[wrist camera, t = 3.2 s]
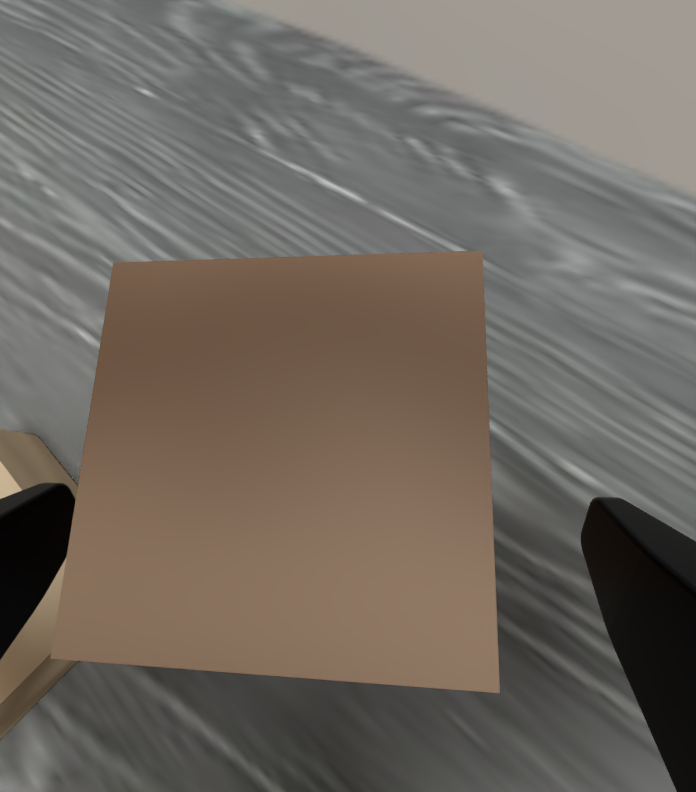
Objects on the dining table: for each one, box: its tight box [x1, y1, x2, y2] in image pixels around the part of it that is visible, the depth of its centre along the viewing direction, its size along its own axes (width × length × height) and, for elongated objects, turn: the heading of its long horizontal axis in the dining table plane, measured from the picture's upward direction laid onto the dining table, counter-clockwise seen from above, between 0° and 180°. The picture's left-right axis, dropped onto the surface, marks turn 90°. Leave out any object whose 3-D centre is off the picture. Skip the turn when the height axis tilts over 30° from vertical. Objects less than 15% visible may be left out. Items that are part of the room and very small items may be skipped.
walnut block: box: [50, 251, 500, 693], centre depth 11 cm, size 5×5×12 cm
